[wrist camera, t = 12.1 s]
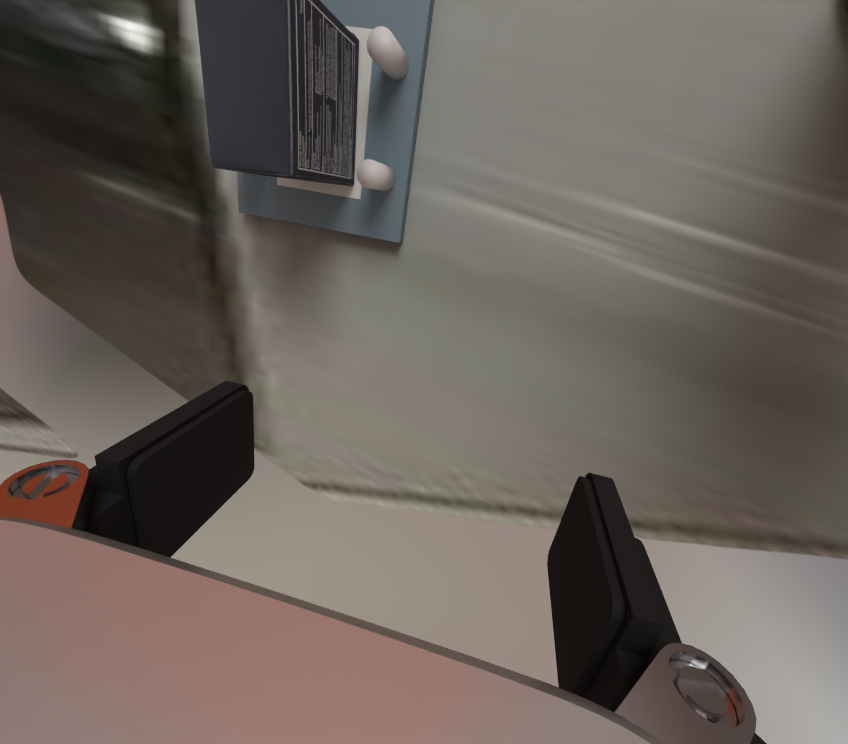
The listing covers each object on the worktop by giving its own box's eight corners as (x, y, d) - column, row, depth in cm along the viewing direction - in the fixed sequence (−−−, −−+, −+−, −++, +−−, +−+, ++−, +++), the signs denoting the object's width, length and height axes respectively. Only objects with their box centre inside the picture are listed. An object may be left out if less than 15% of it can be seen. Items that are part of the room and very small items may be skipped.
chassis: (435, -8, 29) (420, -51, 25) (402, 242, 37) (386, 246, 32) (241, -28, 31) (193, -70, 27) (246, 212, 39) (209, 212, 34)
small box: (283, 33, 31) (182, -47, 22) (361, 36, 30) (291, -45, 21) (287, 180, 35) (204, 167, 26) (356, 187, 34) (295, 177, 25)
